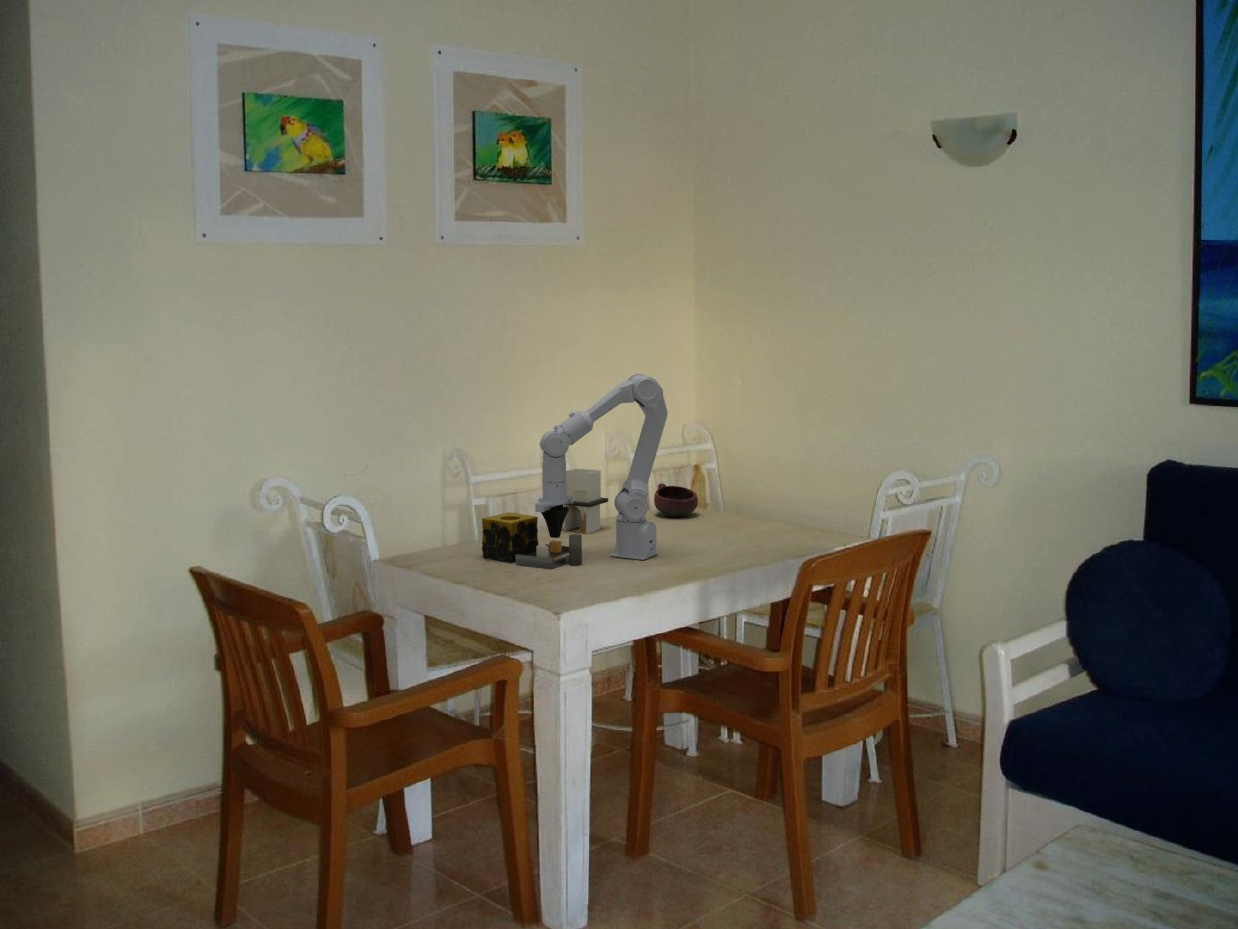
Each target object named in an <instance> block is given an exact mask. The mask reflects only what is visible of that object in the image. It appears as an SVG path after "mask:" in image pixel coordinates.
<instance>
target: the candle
mask: <svg viewBox="0 0 1238 929" xmlns="http://www.w3.org/2000/svg"><path fill="white" fill-rule="evenodd" d="M538 521H539V517H538V516H536V515H528V514H523V513H516V512H510V511H508V512H505V513H500V514H495V515H490V516H486V517H482V518H481V523H482V525H481V526H482V541H481V542H482V543H481V544H482V546H481V551H482V557H483V558H484V559H488V560H492V561H498V562H504V563H505V562H506V563H509V564H510V563H516V554H523V555H528V554H530V553H533V552H536V546H538V545H539V539H538V538H539V536H538V535H539V534H538V533H539V529H538V523H539V522H538Z"/></svg>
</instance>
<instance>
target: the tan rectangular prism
mask: <svg viewBox="0 0 1238 929" xmlns="http://www.w3.org/2000/svg"><path fill="white" fill-rule="evenodd" d="M549 544H550V552H556V553H559V552H562V546H563V545H562V541H561V540H550V541H549Z"/></svg>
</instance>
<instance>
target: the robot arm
mask: <svg viewBox="0 0 1238 929" xmlns="http://www.w3.org/2000/svg"><path fill="white" fill-rule="evenodd" d="M630 403H631V404H632V403H637V404H638V405H639V407H640V409H641V410H642V413H643V414H644V421H643V423H642V427H641V431H640V434H639V437H638V441H637V443H636V444H637V445H636V447H635V451H634V455H633V458H632V461H631V464H630V468H629V473H628V475H627V478H626V479H625V481H624V482H623V484H622V487H621V489H620V491H619V492H618V493H617V494H616V495H615V498H614V502H613V503H614V507H615V509H616V511H617V512H618V513H617V516H616V517H615V518H616V520H615V522H616V523H615V534H616V536H615V538H616V541H615V544H616V545H615V550H616V551H614V552H612V553H610V554H609V557H613V558H614V557H615V558H623V559H625V558H626V559H632V560H633V559H634V560H641V561H645V560H647V559H650V558H651V557H654V556H657V555H658V554H659V552H658V551H657V526H656V524H655V523H654V521H650V520H647V519H646V518H647V517H646V515H647V513H648V509H649V508H648V507H649V506H648V495H649V487H648V484H649V480H650V477H651V473H652V470H653V468H654V463H655V460H656V456H657V452H658V449H659V446H660V443H661V440H662V436H663V433H664V428H665V426H666V422H667V418H668V414H669V412H668V409H667V406H666V402H665V397H664V389H663V387H662V386H661V385H660V383H659V382H658V380H656V379H655V378H654V377H652V376H647V375H645V374H641V373H636V374H635V373H634V374H633V375H631V376H630V377H629V378H628V379H624V380H623V381H621V382H620V383H618V385H616V386H615V387H613V388H612V389H611V390H610V391H609V392H608V393H606V394H605V395H604V396H602V397H601V398H600V399H599V400H598V401H596V403H594V404H593V405H591V407H589V408H588V409H587V410H586V411H581V410H577V411H576V412H574V411H571V412H570V413H568V416H569V417H568V418H566V419H565V420H563V421H562V422H561V423H560V424H558V425H557V424H555V425H553V430H549V431H547V432H545V433H543V435H542V436H541V439H540V441H539V447H540V449H541V451H542V463H541V464H542V465H541V466H542V467H541V469H542V470H541V471H542V473H541V474H542V476H541V477H542V478H541V479H542V497H541V498H538V502H537V503H535V507H534V508H535V510H534V511H535V513H541V515H542V517H543V519H544V521H545V524H546V528H547V531H548V535H549V537H550V538H552V539H558V538H560V537H561V536H562V535H561V534H562V532H563V531H562V530H563V527H564V520H565V517H566V515H567V513H568V511H569V507H564V505H565V504H572V503H573V495H566V471H567V461H566V454H567V452H568V451H569V448H570V446H573V445H574V444H575V443H577V442H578V441H580V440H581V439H582V438H584V437H585V436H586V435H587V434H589V433H590V432H591V431H593V428H594V423H595V422H596V421H598V420H600V418H602V417H603V416H605V415H606V414H608V413H609V412H610V411H612V410H613V409H615V408H617V407H618V406H619V405H621V404H630Z"/></svg>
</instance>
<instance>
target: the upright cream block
mask: <svg viewBox="0 0 1238 929" xmlns="http://www.w3.org/2000/svg"><path fill="white" fill-rule="evenodd" d="M536 553H537V556H540V557H548V556H549V546H546V545H545V544H538V546H536Z"/></svg>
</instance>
